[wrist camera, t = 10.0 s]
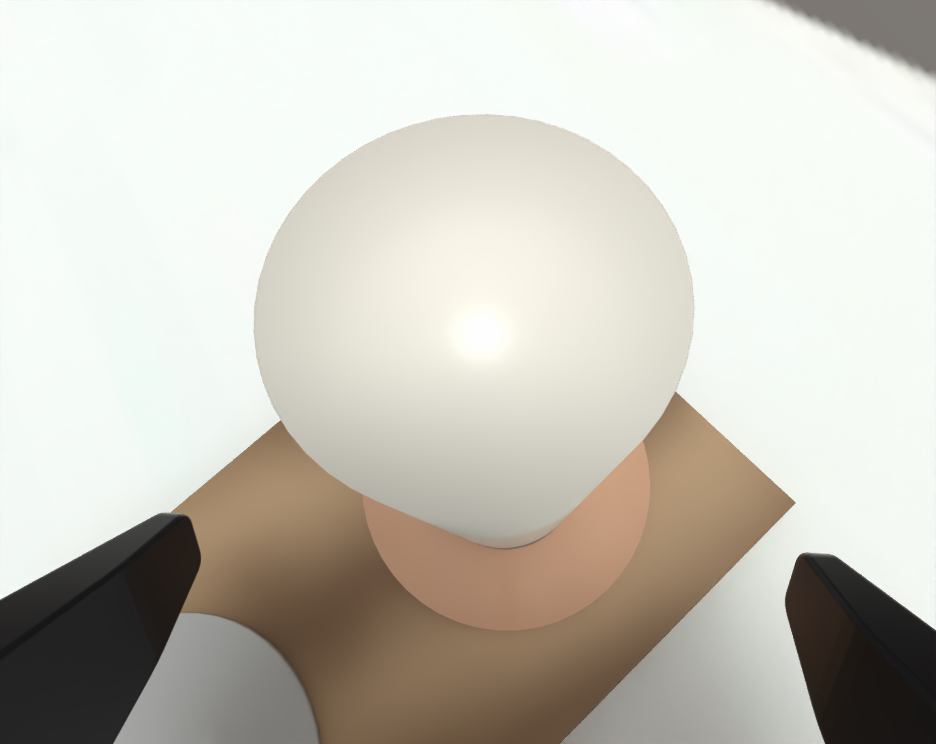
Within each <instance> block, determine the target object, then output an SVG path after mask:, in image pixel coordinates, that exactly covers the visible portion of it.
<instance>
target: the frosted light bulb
mask: <svg viewBox="0 0 936 744" xmlns="http://www.w3.org/2000/svg"><path fill="white" fill-rule="evenodd" d="M693 321H694V296H693V285H692V277H691V273H690V269H689V264H688V260H687V256H686V252H685V250H684V247H683V245H682V242H681V240H680V237H679V235H678V232H677V230H676V228H675V226H674V224H673V222H672V221H671V219H670V217H669V216H668V214H667V212H666V210H665V209H664V207H663V205H662V204H661V203H660V201H659V200H658V199H657V198H656V196H655V195H654V194H653V192H652V191H651V190H650V188H649V187H648V186H647V185H646V184H645V183H644V182H643V181H642V180H641V179H640V178H639V177H638V176H637V175H636V174H635V173H634V172H633V171H632V170H631V169H630V168H629V167H628V166H626V165H625V164H624V163H623V162H621V161H620V160H619V159H617V158H616V157H615V156H613V155H612V154H611V153H610V152H608V151H606V150H605V149H603V148H601V147H600V146H598V145H596V144H594V143H593V142H591V141H589V140H588V139H586V138H583V137H581V136H579V135H577V134H574V133H572V132H570V131H567V130H565V129H563V128H559V127H556V126H553V125H550V124H546V123H543V122H540V121H535V120H530V119H525V118H519V117H514V116H502V115H489V114H486V115H460V116H453V117H446V118H438V119H434V120H430V121H426V122H422V123H418V124H413V125H410V126H408V127H405V128H402V129H399V130H396V131H394V132H391V133H388V134H386V135H384V136H382V137H380V138H378V139H376V140H374V141H372V142H370V143H368V144H366V145H364V146H362V147H361V148H359V149H358V150H356V151H354V152H353V153H351V154H350V155H348V156H346V157H345V158H343V159H342V160H341V161H340V162H338V163H337V164H336V165H335V166H333V167H332V168H331V169H329V170H328V171H327V172H326V173H324V174H323V175H322V176H321V177H320V178H319V179H318V180H317V181H316V182H315V183H314V184H313V185H312V186H311V187H310V188H309V189H308V190H307V191H306V192H305V194H304V195H303V196H302V197H301V199H300V200H299V201H298V202H297V204H296V205H295V206H294V207H293V209H292V210H291V211H290V213H289V214H288V216H287V218H286V219H285V221H284V222H283V224H282V226H281V227H280V229H279V231H278V232H277V234H276V236H275V238H274V240H273V243H272V245H271V247H270V249H269V251H268V254H267V256H266V259H265V262H264V265H263V268H262V272H261V275H260V278H259V282H258V288H257V294H256V300H255V306H254V339H255V348H256V357H257V361H258V365H259V369H260V373H261V377H262V380H263V384H264V386H265V389H266V391H267V393H268V396H269V398H270V400H271V403H272V405H273V408H274V409H275V411H276V413H277V414H278V416H279V418H280V419H281V421H282V423H283V424H284V426H285V428H286V429H287V431H288V432H289V433H290V435H291V436H292V437H293V438H294V439H295V441H296V442H297V443H298V444H299V445H300V447H301V448H302V449H303V450H304V452H305V453H306V454H307V455H308V456H310V457H311V458H312V459H313V460H314V461H315V462H316V463H317V464H318V465H319V466H321V467H322V468H323V469H324V470H325V471H326V472H327V473H329V474H330V475H332V476H333V477H335V478H336V479H338V480H339V481H341V482H342V483H344V484H345V485H347V486H348V487H350V488H351V489H353V490H355V491H357V492H359V493H361V494H363V495H365V496H367V497H369V498H371V499H373V500H375V501H378V502H380V503H382V504H384V505H387V506H389V507H391V508H394V509H396V510H398V511H401V512H403V513H405V514H408V515H410V516H413V517H415V518H417V519H420V520H422V521H424V522H427V523H429V524H431V525H434V526H436V527H438V528H441V529H443V530H445V531H448V532H450V533H453V534H455V535H457V536H460V537H462V538H464V539H467V540H469V541H471V542H474V543H476V544H478V545H481V546H484V547H488V548H493V549H503V550H509V549H517V548H522V547H526V546H528V545H531V544H534V543H536V542H537V541H539V540H541V539H543V538H544V537H546V536H547V535H548V534H550V533H551V532H552V531H553V530H554V529H555V528H556V527H557V526H558V525H559V524H560V523H561V522H562V521H563V520H564V519H565V518H566V517H567V516H568V515H569V514H570V513H571V512H572V511H573V510H574V509H575V508H576V507H577V506H578V505H579V504H580V503H581V502H582V501H583V500H584V499H585V498H586V497H587V496H588V495H589V494H590V493H591V492H592V491H593V490H594V489H595V488H596V487H597V486H598V485H599V484H600V483H601V482H602V481H603V480H604V479H605V478H606V477H607V476H608V475H609V474H610V473H611V472H612V471H613V470H614V469H615V468H616V467H617V466H618V465H619V464H620V463H621V462H622V461H623V460H624V459H625V458H626V457H627V456H628V455H629V454H630V453H631V452H632V451H633V450H634V449H635V448H636V447H637V446H638V445H639V444H640V443H641V442H642V441H643V440H644V438H645V437H646V436H647V434H648V433H649V432H650V430H651V429H652V428H653V427H654V425H655V424H656V423H657V421H658V420H659V419H660V417H661V416H662V415H663V413H664V411H665V409H666V407H667V405H668V404H669V402H670V400H671V398H672V396H673V395H674V393H675V391H676V389H677V387H678V384H679V381H680V378H681V376H682V373H683V370H684V368H685V365H686V362H687V358H688V354H689V349H690V344H691V340H692V335H693Z"/></svg>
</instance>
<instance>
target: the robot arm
mask: <svg viewBox="0 0 936 744" xmlns="http://www.w3.org/2000/svg"><path fill="white" fill-rule="evenodd" d="M200 564H201V551H200V548H199V545H198V541H197V538H196V534H195V531H194V528H193V524H192V521H191V519H190V518H189V517H188V516H187V515H185V514H179V513H160V514H157V515H155V516H153V517H151V518H150V519H148V520H146V521H144V522H142V523H140V524H139V525H137V526H135V527H133V528H131V529H129V530H128V531H126V532H124V533H122V534H120V535H118V536H117V537H115V538H113V539H111V540H109V541H107V542H105V543H104V544H102V545H100V546H98V547H96V548H94V549H93V550H91V551H89V552H87V553H85V554H83V555H82V556H80V557H78V558H76V559H74V560H72V561H71V562H69V563H67V564H65V565H63V566H61V567H59V568H58V569H56V570H54V571H52V572H50V573H48V574H47V575H45V576H43V577H41V578H39V579H37V580H36V581H34V582H32V583H30V584H28V585H26V586H25V587H23V588H21V589H19V590H17V591H15V592H13V593H12V594H10V595H8V596H6V597H4V598H2V599H1V600H0V744H114V742H115V740H116V738H117V736H118V735H119V733H120V731H121V729H122V727H123V726H124V724H125V722H126V720H127V718H128V717H129V715H130V713H131V711H132V709H133V708H134V706H135V704H136V702H137V700H138V699H139V697H140V695H141V693H142V691H143V690H144V688H145V686H146V684H147V682H148V681H149V679H150V677H151V675H152V673H153V671H154V669H155V667H156V665H157V664H158V661H159V659H160V657H161V655H162V653H163V651H164V649H165V647H166V644H167V642H168V640H169V638H170V635H171V633H172V631H173V628H174V626H175V624H176V621H177V619H178V617H179V615H180V612H181V610H182V608H183V605H184V603H185V601H186V599H187V596H188V594H189V592H190V589H191V587H192V585H193V583H194V580H195V578H196V576H197V573H198V571H199V568H200ZM785 607H786V613H787V617H788V620H789V624H790V628H791V631H792V635H793V638H794V642H795V646H796V649H797V653H798V656H799V660H800V664H801V667H802V671H803V674H804V678H805V682H806V685H807V689H808V692H809V696H810V700H811V703H812V707H813V710H814V713H815V717H816V720H817V723H818V726H819V729H820V732H821V734H822V737H823V740H824V742H825V744H936V630H935V629H933V628H932V627H931V626H929V625H928V624H927V623H925V622H924V621H923V620H921V619H920V618H919V617H917V616H916V615H915V614H913V613H912V612H911V611H909V610H908V609H906V608H905V607H904V606H902V605H901V604H900V603H898V602H897V601H896V600H894V599H893V598H892V597H890V596H889V595H888V594H886V593H885V592H884V591H882V590H881V589H879V588H878V587H877V586H875V585H874V584H873V583H871V582H870V581H869V580H867V579H866V578H865V577H863V576H862V575H861V574H859V573H858V572H857V571H855V570H854V569H852V568H851V567H850V566H848V565H847V564H846V563H844V562H843V561H842V560H840V559H839V558H837V557H836V556H834V555H830V554H820V553H803V554H801V555H799V557H798V558H797V560H796V563H795V566H794V569H793V573H792V576H791V579H790V582H789V586H788V589H787V592H786V597H785Z"/></svg>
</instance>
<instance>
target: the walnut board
mask: <svg viewBox="0 0 936 744" xmlns="http://www.w3.org/2000/svg"><path fill="white" fill-rule="evenodd" d="M643 443H644V446H645V450H646V454H647V459H648V463H649V474H650V502H649V508H648V514H647V520H646V524H645V527H644V530H643V533H642V536H641V539H640V542H639V544H638V546H637V548H636V550H635V552H634V554H633V556H632V558H631V560H630V561H629V563H628V565H627V566H626V568H625V569H624V571H623V572H622V574H621V575H620V576H619V577H618V578H617V580H616V581H615V582H614V583H613V584H612V585H611V586H610V588H609V589H608V590H607V591H606V592H604V593H603V594H602V595H601V596H600V597H599V598H597V599H596V600H595V601H594V602H593V603H591V604H590V605H588V606H587V607H585V608H583V609H582V610H580V611H579V612H577V613H576V614H574V615H571V616H569V617H567V618H565V619H562V620H560V621H558V622H556V623H552V624H549V625H545V626H542V627H538V628H532V629H525V630H518V631H496V630H489V629H482V628H476V627H472V626H469V625H466V624H462V623H459V622H456V621H454V620H452V619H449V618H447V617H445V616H443V615H441V614H439V613H437V612H435V611H434V610H432V609H431V608H429V607H427V606H426V605H424V604H423V603H421V602H420V601H419V600H418V599H417V598H415V597H414V596H413V595H412V594H411V593H409V592H408V591H407V590H406V589H405V588H404V587H403V586H402V584H401V583H400V582H399V581H398V580H397V579H396V578H395V577H394V576H393V574H392V573H391V571H390V570H389V568H388V567H387V565H386V564H385V562H384V561H383V559H382V558H381V556H380V554H379V552H378V550H377V548H376V546H375V544H374V542H373V539H372V536H371V533H370V530H369V527H368V525H367V520H366V516H365V511H364V506H363V494H361V493H359V492H357V491H355V490H353V489H351V488H350V487H348V486H347V485H345V484H344V483H342V482H341V481H339V480H338V479H336V478H335V477H333V476H332V475H330V474H329V473H327V472H326V471H325V470H324V469H323V468H322V467H321V466H319V465H318V464H317V463H316V462H315V461H314V460H313V459H312V458H311V457H310V456H308V455H307V454H306V453H305V452H304V450H303V449H302V448H301V447H300V445H299V444H298V443H297V442H296V441H295V439H294V438H293V437H292V436H291V435H290V433H289V432H288V431H287V429H286V428H285V426H284V424H283V423H282V421H279V422H278V423H277V424H276V425H275V426H273V427H272V428H271V429H270V430H269V431H267V432H266V433H265V434H264V435H263V436H261V437H260V438H259V439H258V440H257V441H256V442H254V443H253V444H252V445H251V446H250V447H248V448H247V449H246V450H245V451H244V452H242V453H241V454H240V455H239V456H238V457H236V458H235V459H234V460H233V461H232V462H230V463H229V464H228V465H227V466H226V467H224V468H223V469H222V470H221V471H220V472H218V473H217V474H216V475H215V476H214V477H213V478H211V479H210V480H209V481H208V482H207V483H205V484H204V485H203V486H202V487H201V488H199V489H198V490H197V491H196V492H195V493H193V494H192V495H191V496H190V497H189V498H187V499H186V500H185V501H184V502H183V503H181V504H180V505H179V506H178V507H177V508H176V509H174V510H173V511H172V512H171V513H179V514H185V515H187V516H188V517H189V518H190V519H191V521H192V524H193V528H194V531H195V534H196V538H197V541H198V545H199V548H200V551H201V564H200V568H199V571H198V573H197V576H196V578H195V580H194V583H193V585H192V587H191V589H190V592H189V594H188V596H187V599H186V601H185V603H184V605H183V608H182V610H181V612H180V613H184V612H185V613H208V614H215V615H220V616H224V617H227V618H230V619H233V620H236V621H238V622H240V623H242V624H244V625H246V626H248V627H250V628H252V629H254V630H255V631H257V632H258V633H260V634H261V635H263V636H264V637H265V638H267V639H268V640H269V641H270V642H271V643H272V644H273V645H274V646H275V647H277V648H278V649H279V650H280V651H281V652H282V653H283V655H284V656H285V657H286V659H287V660H288V661H289V662H290V664H291V665H292V666H293V667H294V669H295V671H296V672H297V674H298V676H299V678H300V679H301V681H302V683H303V684H304V686H305V689H306V691H307V693H308V696H309V698H310V701H311V703H312V705H313V709H314V712H315V716H316V719H317V723H318V726H319V733H320V739H321V744H560V743H561V742H562V741H563V740H564V739H565V738H566V737H567V736H568V735H569V734H570V733H571V731H572V730H573V729H574V728H575V727H576V726H577V725H578V724H579V723H580V722H581V721H582V720H583V719H584V718H585V717H586V716H587V715H588V714H589V713H590V712H591V711H592V710H593V709H594V708H595V707H596V706H597V705H598V704H599V703H600V702H601V701H602V700H603V699H604V698H605V697H606V696H607V695H608V694H609V693H610V692H611V691H612V690H613V689H614V688H615V687H616V686H617V685H618V684H619V683H620V682H621V680H622V679H623V678H624V677H625V676H626V675H627V674H628V673H629V672H630V671H631V670H632V669H633V668H634V667H635V666H636V665H637V664H638V663H639V662H640V661H641V660H642V659H643V658H644V657H645V656H646V655H647V654H648V653H649V652H650V651H651V650H652V649H653V648H654V647H655V646H656V645H657V644H658V643H659V642H660V641H661V640H662V639H663V638H664V637H665V636H666V635H667V634H668V633H669V632H670V631H671V629H672V628H673V627H674V626H675V625H676V624H677V623H678V622H679V621H680V620H681V619H682V618H683V617H684V616H685V615H686V614H687V613H688V612H689V611H690V610H691V609H692V608H693V607H694V606H695V605H696V604H697V603H698V602H699V601H700V600H701V599H702V598H703V597H704V596H705V595H706V594H707V593H708V592H709V591H710V590H711V589H712V588H713V587H714V586H715V585H716V584H717V583H718V582H719V581H720V580H721V578H722V577H723V576H724V575H725V574H726V573H727V572H728V571H729V570H730V569H731V568H732V567H733V566H734V565H735V564H736V563H737V562H738V561H739V560H740V559H741V558H742V557H743V556H744V555H745V554H746V553H747V552H748V551H749V550H750V549H751V548H752V547H753V546H754V545H755V544H756V543H757V542H758V541H759V540H760V539H761V538H762V537H763V536H764V535H765V534H766V533H767V532H768V531H769V530H770V529H771V527H772V526H773V525H774V524H775V523H776V522H777V521H778V520H779V519H780V518H781V517H782V516H783V515H784V514H785V513H786V512H787V511H788V510H789V509H790V508H791V507H792V506H793V505H794V504H795V502H794V501H793V500H792V499H791V498H790V497H789V496H788V495H787V494H786V493H785V492H784V491H782V490H781V489H780V488H779V487H778V486H777V485H776V484H775V483H774V482H773V481H772V480H771V479H769V478H768V477H767V476H766V475H765V474H764V473H763V472H762V471H761V470H760V469H759V468H758V467H756V466H755V465H754V464H753V463H752V462H751V461H750V460H749V459H748V458H747V457H746V456H745V455H743V454H742V453H741V452H740V451H739V450H738V449H737V448H736V447H735V446H734V445H733V444H732V443H730V442H729V441H728V440H727V439H726V438H725V437H724V436H723V435H722V434H721V433H720V432H719V431H717V430H716V429H715V428H714V427H713V426H712V425H711V424H710V423H709V422H708V421H707V420H706V419H705V418H703V417H702V416H701V415H700V414H699V413H698V412H697V411H696V410H695V409H694V408H693V407H692V406H690V405H689V404H688V403H687V402H686V401H685V400H684V399H683V398H682V397H681V396H680V395H679V394H677V393H676V392H675V393H674V395H673V396H672V398H671V400H670V402H669V404H668V405H667V407H666V409H665V411H664V413H663V415H662V416H661V417H660V419H659V420H658V421H657V423H656V424H655V425H654V427H653V428H652V429H651V430H650V432H649V433H648V434H647V436H646V437H645V438H644V440H643Z"/></svg>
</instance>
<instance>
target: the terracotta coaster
mask: <svg viewBox="0 0 936 744" xmlns="http://www.w3.org/2000/svg"><path fill="white" fill-rule="evenodd" d="M649 502H650V474H649V463H648V459H647V454H646V450H645V446H644V443H643V441H642V442H641V443H640V444H639V445H638V446H637V447H636V448H635V449H634V450H633V451H632V452H631V453H630V454H629V455H628V456H627V457H626V458H625V459H624V460H623V461H622V462H621V463H620V464H619V465H618V466H617V467H616V468H615V469H614V470H613V471H612V472H611V473H610V474H609V475H608V476H607V477H606V478H605V479H604V480H603V481H602V482H601V483H600V484H599V485H598V486H597V487H596V488H595V489H594V490H593V491H592V492H591V493H590V494H589V495H588V496H587V497H586V498H585V499H584V500H583V501H582V502H581V503H580V504H579V505H578V506H577V507H576V508H575V509H574V510H573V511H572V512H571V513H570V514H569V515H568V516H567V517H566V518H565V519H564V520H563V521H562V522H561V523H560V524H559V525H558V526H557V527H556V528H555V529H554V530H553V531H552V532H551V533H550V534H548V535H547V536H546V537H544V538H543V539H541V540H539V541H537V542H536V543H534V544H531V545H528V546H526V547H522V548H517V549H509V550H503V549H493V548H488V547H484V546H481V545H478V544H476V543H474V542H471V541H469V540H467V539H464V538H462V537H460V536H457V535H455V534H453V533H450V532H448V531H445V530H443V529H441V528H438V527H436V526H434V525H431V524H429V523H427V522H424V521H422V520H420V519H417V518H415V517H413V516H410V515H408V514H405V513H403V512H401V511H398V510H396V509H394V508H391V507H389V506H387V505H384V504H382V503H380V502H378V501H375V500H373V499H371V498H369V497H367V496H365V495H363V506H364V511H365V516H366V520H367V525H368V527H369V530H370V533H371V536H372V539H373V542H374V544H375V546H376V548H377V550H378V552H379V554H380V556H381V558H382V559H383V561H384V562H385V564H386V565H387V567H388V568H389V570H390V571H391V573H392V574H393V576H394V577H395V578H396V579H397V580H398V581H399V582H400V583H401V584H402V586H403V587H404V588H405V589H406V590H407V591H408V592H409V593H411V594H412V595H413V596H414V597H415V598H417V599H418V600H419V601H420V602H421V603H423V604H424V605H426V606H427V607H429V608H431V609H432V610H434V611H435V612H437V613H439V614H441V615H443V616H445V617H447V618H449V619H452V620H454V621H456V622H459V623H462V624H466V625H469V626H472V627H476V628H482V629H489V630H496V631H518V630H525V629H532V628H538V627H542V626H545V625H549V624H552V623H556V622H558V621H560V620H562V619H565V618H567V617H569V616H571V615H574V614H576V613H577V612H579V611H580V610H582V609H583V608H585V607H587V606H588V605H590V604H591V603H593V602H594V601H595V600H596V599H597V598H599V597H600V596H601V595H602V594H603V593H604V592H606V591H607V590H608V589H609V588H610V586H611V585H612V584H613V583H614V582H615V581H616V580H617V578H618V577H619V576H620V575H621V574H622V572H623V571H624V569H625V568H626V566H627V565H628V563H629V561H630V560H631V558H632V556H633V554H634V552H635V550H636V548H637V546H638V544H639V542H640V539H641V536H642V533H643V530H644V527H645V524H646V520H647V514H648V508H649Z"/></svg>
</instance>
